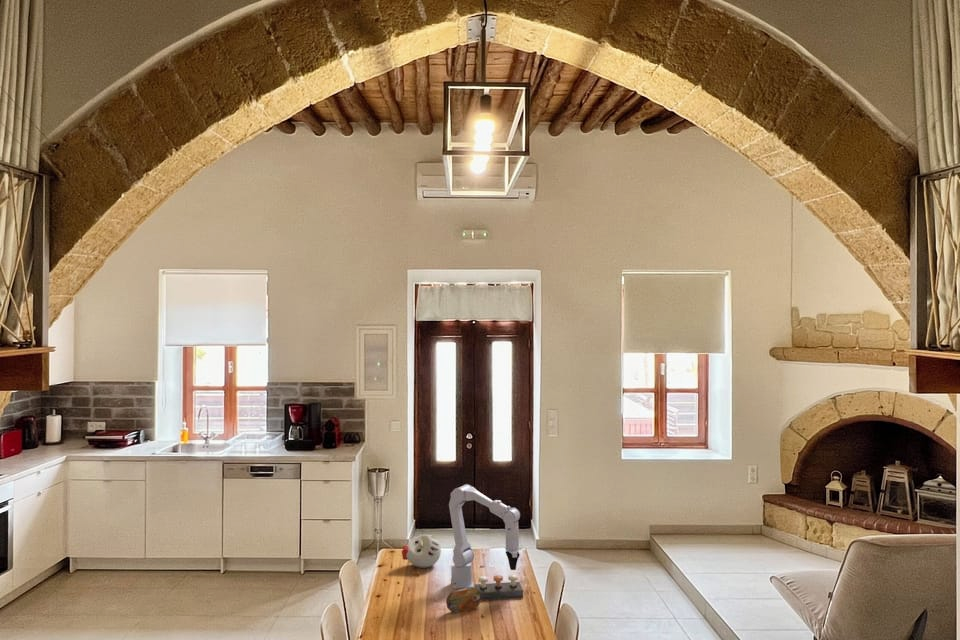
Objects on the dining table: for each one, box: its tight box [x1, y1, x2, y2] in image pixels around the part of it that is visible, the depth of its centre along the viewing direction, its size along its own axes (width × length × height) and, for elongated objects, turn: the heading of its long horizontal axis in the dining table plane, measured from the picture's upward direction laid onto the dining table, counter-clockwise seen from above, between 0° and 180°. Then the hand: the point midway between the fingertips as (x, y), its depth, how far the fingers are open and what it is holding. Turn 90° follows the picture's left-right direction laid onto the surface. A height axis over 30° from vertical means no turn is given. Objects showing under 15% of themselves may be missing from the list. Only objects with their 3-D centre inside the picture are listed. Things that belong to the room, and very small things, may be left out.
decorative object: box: [401, 534, 442, 569], centre depth 319 cm, size 15×19×15 cm
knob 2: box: [507, 573, 519, 587], centre depth 283 cm, size 4×4×4 cm
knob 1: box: [478, 575, 489, 589], centre depth 281 cm, size 4×4×4 cm
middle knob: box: [493, 574, 504, 588], centre depth 282 cm, size 4×4×4 cm
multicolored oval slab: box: [445, 587, 482, 614], centre depth 267 cm, size 15×3×8 cm, turn 117°
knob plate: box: [473, 581, 524, 601], centre depth 282 cm, size 20×10×3 cm, turn 95°
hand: (512, 569), depth 283 cm, fingers closed
